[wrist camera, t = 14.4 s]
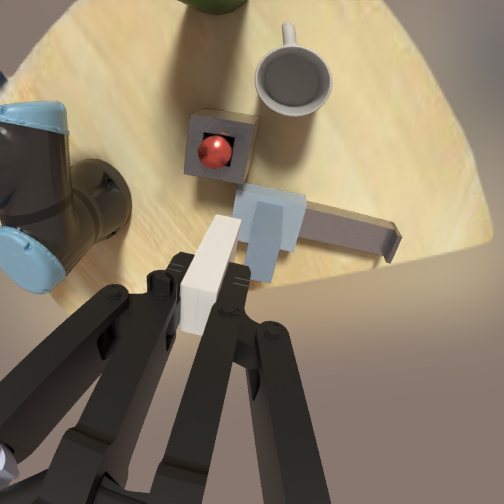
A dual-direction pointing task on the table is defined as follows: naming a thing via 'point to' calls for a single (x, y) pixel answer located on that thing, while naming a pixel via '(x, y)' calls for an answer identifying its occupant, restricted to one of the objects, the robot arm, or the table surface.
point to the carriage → (267, 225)
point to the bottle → (214, 5)
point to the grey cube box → (222, 124)
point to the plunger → (216, 150)
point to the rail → (350, 230)
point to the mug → (293, 77)
